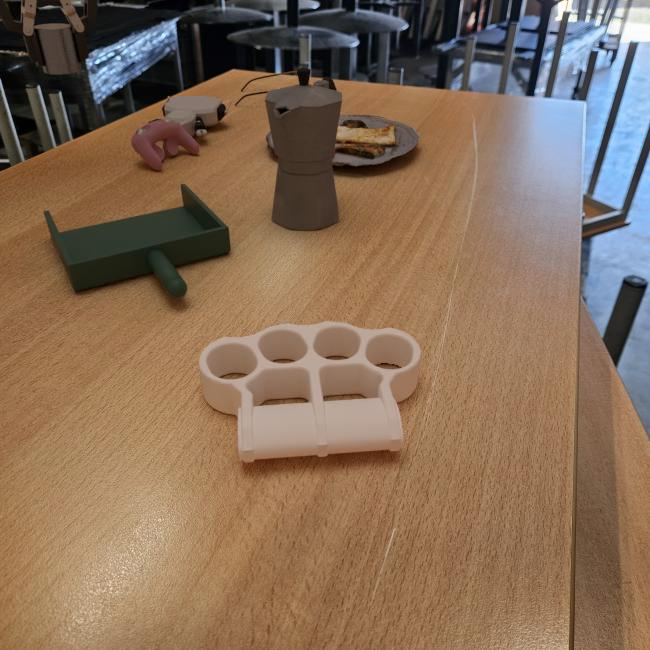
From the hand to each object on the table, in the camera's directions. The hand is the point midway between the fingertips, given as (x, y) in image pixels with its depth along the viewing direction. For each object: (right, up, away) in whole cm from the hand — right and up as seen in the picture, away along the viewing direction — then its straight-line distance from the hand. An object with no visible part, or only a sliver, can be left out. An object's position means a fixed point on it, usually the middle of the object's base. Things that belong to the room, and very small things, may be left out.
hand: (60, 62), depth 78 cm
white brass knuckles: (+35, -42, -31) cm, 63 cm away
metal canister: (0, -1, +1) cm, 1 cm away
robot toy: (+12, -1, +24) cm, 27 cm away
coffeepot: (+34, -21, -3) cm, 40 cm away
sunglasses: (+25, +12, +43) cm, 51 cm away
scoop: (+16, -29, -14) cm, 36 cm away
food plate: (+39, -7, +17) cm, 43 cm away
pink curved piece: (+11, -10, +12) cm, 20 cm away
